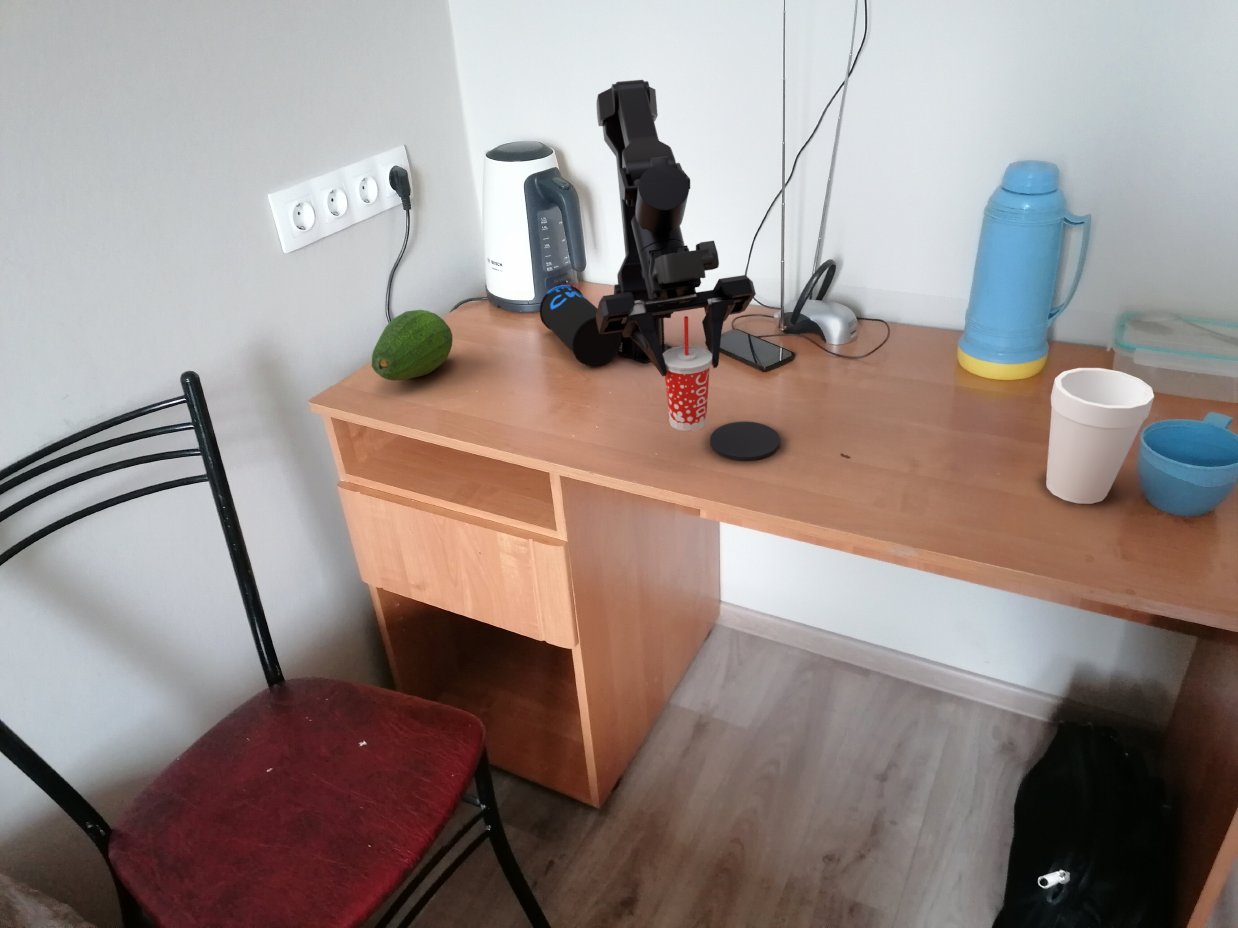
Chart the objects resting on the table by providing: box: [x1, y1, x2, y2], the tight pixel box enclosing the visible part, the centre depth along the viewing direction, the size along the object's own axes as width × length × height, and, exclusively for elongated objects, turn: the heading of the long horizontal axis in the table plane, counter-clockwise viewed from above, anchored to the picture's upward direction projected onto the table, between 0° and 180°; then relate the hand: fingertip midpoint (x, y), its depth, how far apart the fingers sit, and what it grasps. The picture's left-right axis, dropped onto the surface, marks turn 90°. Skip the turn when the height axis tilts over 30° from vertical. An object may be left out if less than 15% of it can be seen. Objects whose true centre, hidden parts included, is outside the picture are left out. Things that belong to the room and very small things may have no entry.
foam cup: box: [1045, 367, 1155, 505], centre depth 94 cm, size 10×9×13 cm
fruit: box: [371, 309, 453, 381], centre depth 131 cm, size 15×10×10 cm, turn 150°
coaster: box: [709, 421, 781, 462], centre depth 110 cm, size 9×9×1 cm
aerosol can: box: [539, 284, 622, 368], centre depth 138 cm, size 8×8×20 cm
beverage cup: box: [663, 315, 713, 432], centre depth 102 cm, size 6×6×14 cm
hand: (690, 371), depth 101 cm, fingers closed on beverage cup, 6 cm apart
